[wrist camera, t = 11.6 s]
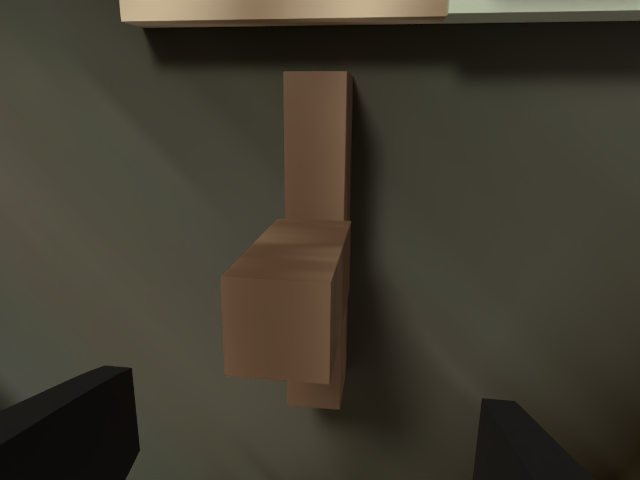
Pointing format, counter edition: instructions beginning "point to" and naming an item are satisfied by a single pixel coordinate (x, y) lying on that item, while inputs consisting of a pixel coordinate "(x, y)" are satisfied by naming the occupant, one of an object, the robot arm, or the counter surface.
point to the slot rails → (279, 12)
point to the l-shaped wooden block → (300, 255)
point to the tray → (541, 11)
